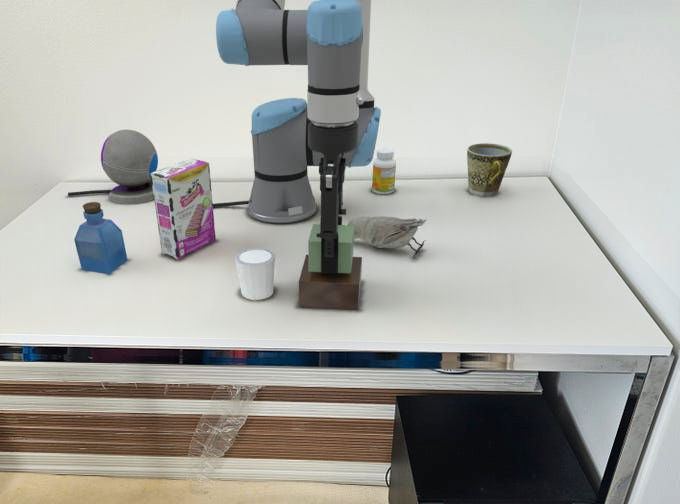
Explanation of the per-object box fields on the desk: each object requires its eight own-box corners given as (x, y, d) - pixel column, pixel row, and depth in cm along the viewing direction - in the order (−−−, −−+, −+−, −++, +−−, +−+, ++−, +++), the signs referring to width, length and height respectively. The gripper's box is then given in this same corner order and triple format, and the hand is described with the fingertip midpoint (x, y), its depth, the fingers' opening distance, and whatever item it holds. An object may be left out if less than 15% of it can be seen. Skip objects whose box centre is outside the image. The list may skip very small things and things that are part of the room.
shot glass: (271, 303, 106) (269, 266, 101) (233, 299, 107) (229, 263, 103) (280, 284, 111) (279, 248, 107) (244, 281, 112) (241, 246, 108)
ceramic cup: (456, 185, 151) (461, 144, 145) (495, 183, 152) (502, 142, 146) (473, 205, 141) (480, 161, 135) (516, 202, 141) (524, 159, 136)
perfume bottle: (127, 260, 120) (115, 200, 113) (109, 274, 115) (96, 213, 108) (100, 256, 122) (87, 197, 115) (81, 269, 117) (66, 209, 110)
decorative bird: (351, 236, 127) (352, 202, 123) (426, 251, 121) (430, 215, 117) (340, 247, 123) (341, 211, 119) (418, 262, 118) (422, 225, 113)
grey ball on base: (121, 183, 156) (109, 122, 147) (169, 185, 154) (160, 123, 145) (100, 202, 145) (86, 137, 136) (152, 204, 144) (141, 139, 135)
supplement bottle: (370, 187, 151) (371, 147, 145) (391, 186, 151) (394, 146, 146) (373, 195, 147) (376, 154, 141) (396, 194, 147) (399, 153, 141)
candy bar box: (179, 261, 119) (167, 178, 110) (161, 255, 122) (148, 173, 112) (218, 241, 127) (210, 161, 117) (200, 235, 129) (191, 156, 120)
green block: (308, 271, 102) (308, 240, 99) (313, 253, 108) (313, 223, 104) (350, 273, 101) (351, 242, 98) (353, 255, 107) (354, 225, 104)
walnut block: (299, 307, 104) (298, 281, 101) (306, 279, 112) (305, 254, 110) (358, 310, 103) (359, 283, 100) (361, 281, 111) (362, 256, 108)
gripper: (354, 140, 82) (349, 291, 96) (361, 105, 99) (356, 238, 112) (299, 139, 83) (302, 289, 96) (315, 104, 99) (315, 237, 113)
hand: (331, 261), depth 104 cm, fingers closed on green block, 7 cm apart
